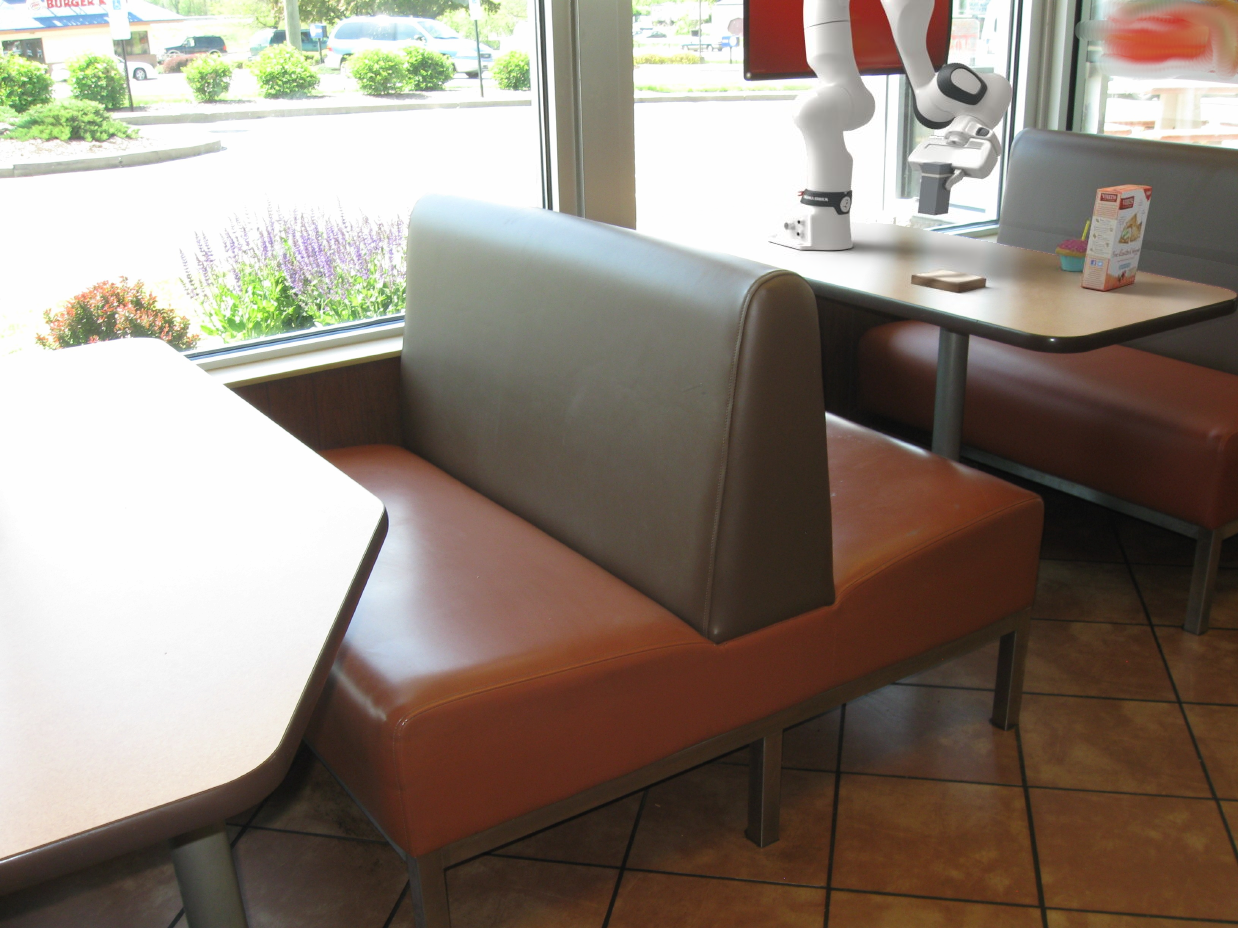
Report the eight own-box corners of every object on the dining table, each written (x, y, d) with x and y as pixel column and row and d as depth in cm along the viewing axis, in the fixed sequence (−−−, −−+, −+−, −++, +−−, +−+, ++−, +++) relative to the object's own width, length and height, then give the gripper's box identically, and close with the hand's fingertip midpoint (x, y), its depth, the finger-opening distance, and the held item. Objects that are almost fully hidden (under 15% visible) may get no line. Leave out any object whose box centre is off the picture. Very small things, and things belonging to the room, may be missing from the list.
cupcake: (1086, 266, 257) (1094, 214, 253) (1097, 274, 249) (1106, 220, 245) (1049, 265, 258) (1056, 214, 254) (1058, 273, 250) (1066, 220, 246)
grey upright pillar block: (917, 213, 247) (922, 162, 243) (931, 211, 250) (936, 161, 246) (934, 215, 244) (940, 164, 240) (948, 213, 247) (954, 163, 243)
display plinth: (910, 283, 239) (911, 274, 238) (938, 277, 245) (939, 268, 244) (957, 293, 230) (958, 283, 230) (985, 286, 236) (986, 277, 236)
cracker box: (1106, 292, 231) (1123, 191, 224) (1079, 288, 235) (1095, 188, 228) (1137, 283, 240) (1154, 185, 232) (1110, 279, 244) (1126, 183, 236)
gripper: (922, 125, 252) (891, 172, 250) (1000, 132, 237) (968, 182, 235) (931, 144, 256) (901, 190, 254) (1009, 152, 241) (977, 201, 239)
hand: (934, 186), depth 244 cm, fingers closed on grey upright pillar block, 4 cm apart
